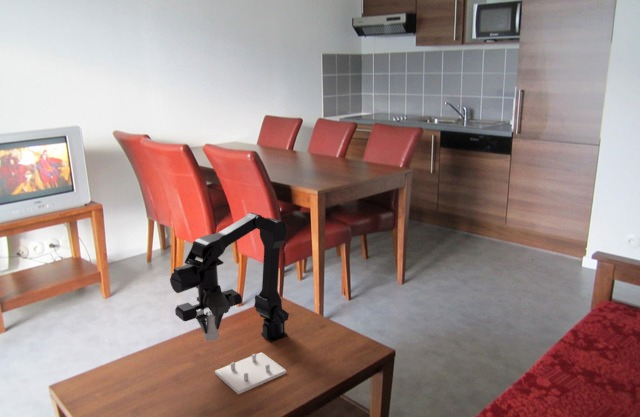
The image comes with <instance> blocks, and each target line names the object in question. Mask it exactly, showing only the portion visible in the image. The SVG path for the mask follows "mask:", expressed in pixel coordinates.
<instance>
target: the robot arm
mask: <svg viewBox="0 0 640 417" xmlns="http://www.w3.org/2000/svg"><path fill="white" fill-rule="evenodd" d="M257 229H258V230H259V237H260V240H261V242H262V244H263V264H262V281H261V284H262V285H261V290H260V292H259V294H256V295H255V296H254V305H253V307H254V308H255V312H257V314H259V317H260V318H263V320H262V321H263V323H262V332H261V336H262V337H264V338H265V339H266V340H268V341H270V342H275V341H278V340H280V339H283V338H286V337H288V335H289V334H288V333H286V329H285V326H286V325H285V323H286V321H288V320H289V316H290V314H289V312H287V311H286V310H285V309H283V302H282V301H283V300H282V298H281V296H280V293H279V291H278V289H279V288H278V287H279V272H280V269H279V268H280V254H281V250H280V249H281V247H282V245H283V244H284V242H285V241H286V236H287V231H288V230H287V229H288V227H287V224H286V223H285V222H284V221H282V220H279V219H275V218H271V217H264V216H262V215H261V214H258V213H254V212H248V213H247V214H246V215H245V216H244V217H242V218H240V219H238V220H237V221H235V222H233V223H232V224H230V225H229V226H227V227H225V228H223V229H222V230H220V231H218V232H216V233H212V234H206V235H203V236H200V237H197V238H196V239H194V241H193V242H192V245H191V248H190V251H189V252H188V254H187V256H186V258H185V260H184V264H185V265H183V266H178V267H174V268H173V269H172V271H173V272H172V273H171V274H170V278H169V282H170V285H171V288H172V290H173V291H174V292H175V293H176V294H180V293H183V292H185V291H189V290H191V289H193V288H194V289H195V288H196V289H197V293H198V296H197V297H196V301H197V302H198V304H194V305H192V304H191V303H189V302H185V303H182V304H179V305H178V304H177V305H176V308H175V309H174V310H175V311H174V312H175V313H174V314H175V316H177V317H178V318H179V319H180V320H182V322H188V321H191V320H197V322H198V324H199V326H200V328H201V329H202V331H203V332H202V333H203V334H204V333H205V334H207V326H206V325H207V323H206V317H207V315H206V313H205V310H206V309H208V310H209V311H211V312H212V314H213V315H214V316H215V318H214V319H215V326H216V328H217V330H218V331H219V329H220V326H221V322H222V320H223V317H224V315H225V314H227V313H229V310H230V309H231V308H232V307H234V306H238V305H241V304H242V303H243V297H242V294H240V293H239V292H237V291H236V290H234V289H232V288H231V289H227V290H225V291H222V287H221V285H219V279H218V278H219V277H218V276H219V275H218V266H221V265H223V264H224V261H223V260H221V259H220V257H221V256H222V255H223V254H224V252H225V251H226V249H227V248H228V247H229V246H230V245H232V244H234V243H235V242H237V241H238V240H240V239H241V238H244V237H245V236H246V235H248V234H250V233H252V232H253V231H254V230H257ZM196 258H197V259H200V260H202V261H200V260H197V259H196Z"/></svg>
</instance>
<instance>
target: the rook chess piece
mask: <svg viewBox="0 0 640 417" xmlns="http://www.w3.org/2000/svg"><path fill="white" fill-rule="evenodd" d="M205 315H207V317H206V326H207V334H205V333H204V332H203V335H204V336H203V338H204V339H205V340H206V341H209V342H212V341H216V340H218V339H219V337H220V332H219V329H218V330H217V328H216V326H215V319H214V318H215V316H214V315H213V314H212V312H211V311H210V310H209V311H206V312H205Z"/></svg>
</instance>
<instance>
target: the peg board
mask: <svg viewBox="0 0 640 417" xmlns="http://www.w3.org/2000/svg"><path fill="white" fill-rule="evenodd" d="M214 374H215V375H216V376H217V377H218V378H219V379H220V380H221V381H223V382H224V383H225V384H226V385H227V386H228V387H230V388H231V389H232V390H233V391H234V392H235V393H236V395H240V394H242V393H245V392H248V391H250V390H251V389H252V390H253V388H256V387H258V386H261V385H263V384H264V383H265V384H266V383H267V382H269V381H271V380H274V379H276V378H279V377H281V376H283V375H286V374H287V370H286V369H285V368H284V367H283V366H281V365H279V364H278V363H277V362H276V361H274V360H273V359H271V358H270V357H269V356H267V355H266V354H265V353H263V352H259V353H253V354H251V355H250V356H248V357H245V358H243V359H240V360H238V361H236V362H235V361H233V362H230V364H228V365H226V366H223V367H221V368H219V369H216V370H214Z"/></svg>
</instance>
